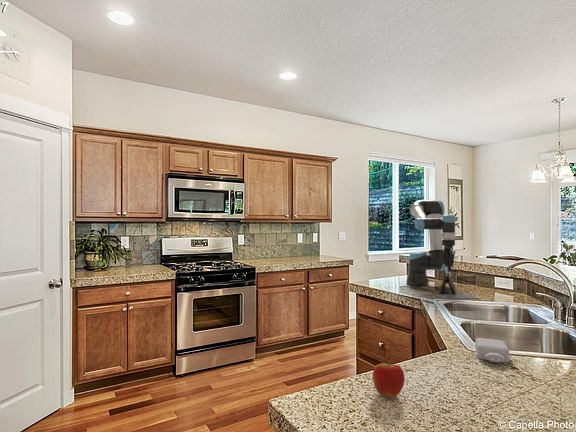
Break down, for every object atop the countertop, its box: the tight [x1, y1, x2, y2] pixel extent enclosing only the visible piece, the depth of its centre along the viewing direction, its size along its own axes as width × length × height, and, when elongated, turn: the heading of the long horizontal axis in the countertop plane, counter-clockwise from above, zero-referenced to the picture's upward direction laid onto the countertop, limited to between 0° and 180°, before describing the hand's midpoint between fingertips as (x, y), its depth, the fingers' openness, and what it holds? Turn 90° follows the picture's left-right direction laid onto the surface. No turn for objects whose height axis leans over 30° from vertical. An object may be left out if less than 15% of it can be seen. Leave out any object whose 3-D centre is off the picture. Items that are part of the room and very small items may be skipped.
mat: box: [433, 293, 480, 300], centre depth 223 cm, size 12×22×1 cm, turn 93°
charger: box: [475, 337, 510, 363], centre depth 124 cm, size 5×9×15 cm
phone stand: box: [439, 272, 457, 294], centre depth 230 cm, size 9×6×12 cm, turn 65°
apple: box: [372, 356, 405, 399], centre depth 98 cm, size 8×8×10 cm
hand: (448, 276), depth 233 cm, fingers closed
